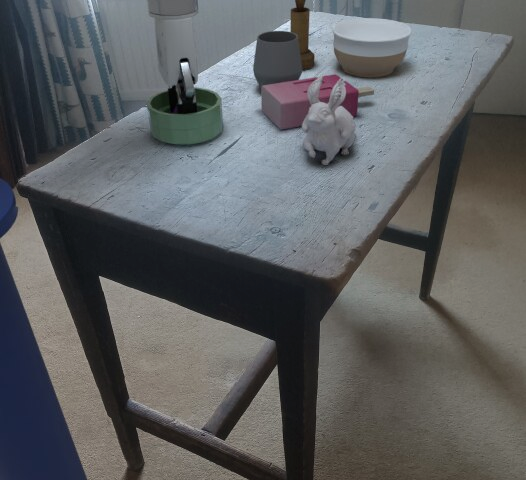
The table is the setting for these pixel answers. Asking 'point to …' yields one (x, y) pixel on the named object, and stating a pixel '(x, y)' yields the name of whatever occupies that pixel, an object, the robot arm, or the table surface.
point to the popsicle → (304, 99)
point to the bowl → (370, 45)
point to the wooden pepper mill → (302, 33)
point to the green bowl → (186, 118)
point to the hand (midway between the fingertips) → (183, 117)
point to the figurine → (328, 122)
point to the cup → (277, 58)
